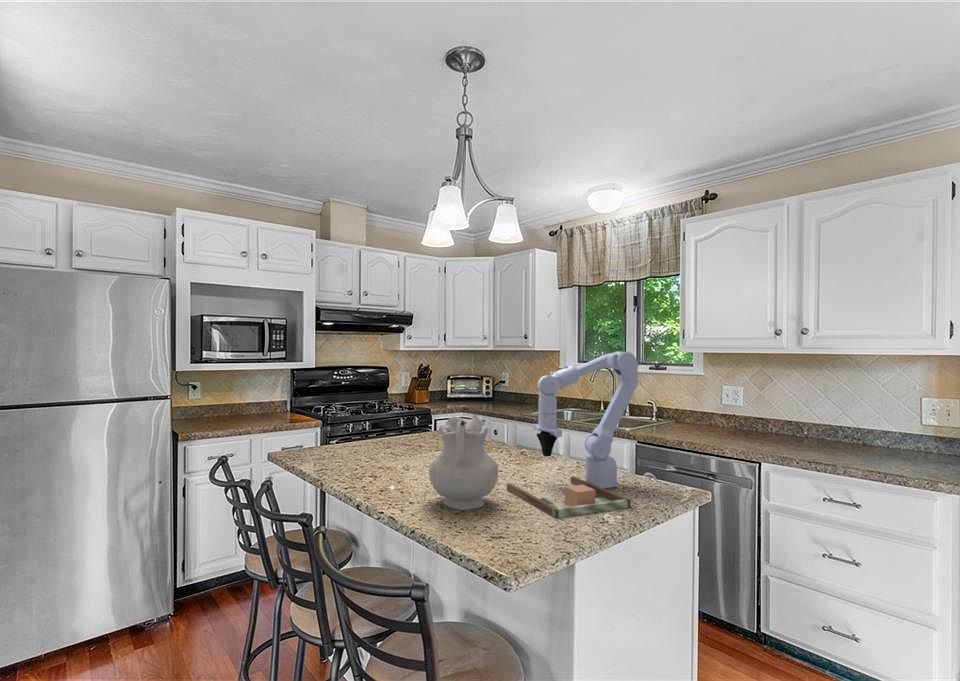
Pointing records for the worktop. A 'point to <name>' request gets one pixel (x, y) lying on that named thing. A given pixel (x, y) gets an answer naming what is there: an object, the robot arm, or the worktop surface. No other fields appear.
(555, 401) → the robot arm
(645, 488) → the worktop surface
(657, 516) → the worktop surface
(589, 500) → the block
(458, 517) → the worktop surface
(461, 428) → the ceramic pitcher
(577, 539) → the worktop surface
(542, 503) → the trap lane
